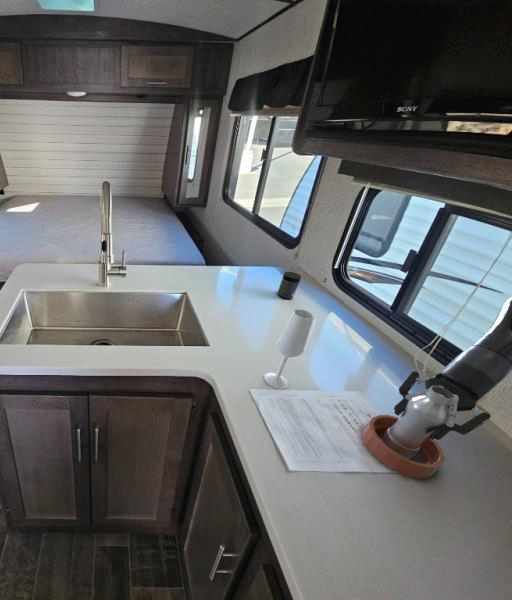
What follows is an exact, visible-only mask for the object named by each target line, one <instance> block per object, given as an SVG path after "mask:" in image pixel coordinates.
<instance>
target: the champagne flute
mask: <svg viewBox="0 0 512 600" xmlns="http://www.w3.org/2000/svg"><path fill="white" fill-rule="evenodd" d="M314 317H315V316H314V314H313V313H312V312H311V311H308V310H306V309H302V308H296V309H294V310H293V312H292V314H291V315H290V317H289V319H288V321H287V322H286V325H285V327H284V328H283V330H282V332H281V334H280V336H279V338H278V340H277V342H276V346H277V349H278V351H279V353H280V354H281V355H282V359H281V362H280V364H279V366H278V369H277V371H276V373H275V372H267V373H266V374H264V376H263V378H264V381H265V383H266V384H267V385H269V386H270V387H272V388H275V389H278V390H284V389H287V388H288V387H289V381H288V380H287V379H286V378H285V377H284V376H283V375H282V374H283V371H284V369H285V366H286V364H287V361H288V359H289V358H290V359H291V358H296V357H299V356H301V355H303V353H304V351H305V348H306V344H307V340H308V337H309V334H310V331H311V328H312V324H313V321H314Z"/></svg>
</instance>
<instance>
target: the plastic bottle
mask: <svg viewBox="0 0 512 600" xmlns="http://www.w3.org/2000/svg"><path fill="white" fill-rule="evenodd" d="M425 394H426V395H419V396H415V397H413V398H411V399H410V400H409V402H408V403H407V406H406V408H405V410H404V412H402V413H401V414H400V415H399V417H398V418H399V419H398V421H397V422H396V423H395V424H394V425H393V426H392V427H391V428H389V429H387V430H386V431H385V432H384V433H383V434H382V436H381V438H380V437H379V438H380V440H381V441H382V442H383V443H384V444H385V445H386V446H388V447H389V448H390V449H391V450H393V451H394V452H396V453H397V454H399V455H401V456H402V457H404V458H407V459H409V460H411V459H413V458H414V457H416V456H417V455H418V453H419V449H420V446H421V445H422V443H423V442H424V441H425V439H426V438H427V437H428V436H429V435H430V434H431V433H432V432H433V431H434V430H436V429H437V428H438V427H439V426H441V425H442V424H445V423H446V422H447V421H448V419H449V415H450V414H449V410H448V407H447V405H449V404H450V403H451V401H452V400H453V398H454V395H453V394H452V393H451V392H450V391H448V390H446V389H444V388H442V387H439V386H431V387H430V388H429V390H427V391H426V393H425Z"/></svg>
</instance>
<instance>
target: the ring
mask: <svg viewBox="0 0 512 600" xmlns="http://www.w3.org/2000/svg"><path fill="white" fill-rule="evenodd" d="M399 418H400V417H399V416H395V415H389V414H376V415H375V416H372V418H370V420H369V421H368V423H367V424H366V426H365V427H364V429H363V430H362V432H361V434H362V435H361V437H362V438H361V439H362V441H363V443H364V445H365V447H366V448H367V450H368V451H369V452H370V453H371V455H373V456H374V457H375V459H377V460H378V461H379V462H380V463H382V464H383V465H384V466H386V467H387V468H389V469H391V470H392V471H394V472H396V473H398V474H401V475H403V476H406V477H410V478H414V479H427V478H429V477H432V476H433V475H434V474H435V473H436V472H437V471H438V470H439V469H440V468H441V467H442V466H443V464H444V463H445V454H444V451H443V450H442V448H441V446H440V445H439V443H438V442H437V440H436V439H433V440H432V439H430V438H429V436H428V437H427V438H426V439H425V441H424V442H423V443H422V445H421V446H420V449H419V451H418V453H419V454H420V455H421V457H422V459H423V463H421V462H417V461H413V460H411V459H407V458H404V457H402V456H401V455H399V454H397V453H396V452H394V451H393V450H391V449H390V448H389V447H388V446H386V445H385V444H384V443H383V442H382V441H381V440H380V438H381V436H382V434H383V433H384V432H385V431H386V430H387V429H389V428H391V427H392V426H393V425H394V424H395V423H396V422H397V421H398V419H399Z"/></svg>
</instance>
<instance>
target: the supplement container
mask: <svg viewBox="0 0 512 600" xmlns="http://www.w3.org/2000/svg"><path fill="white" fill-rule="evenodd" d="M301 280H302V275H301V274H299V273H296V272H294V271H284V272H283V276H282V278H281V281H280V284H279V287H278V290H277V296H278V297H280V298H281V299H282V300H293V299H294V298H295V295H296V293H297V289H298V287H299V285H300V282H301Z"/></svg>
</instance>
